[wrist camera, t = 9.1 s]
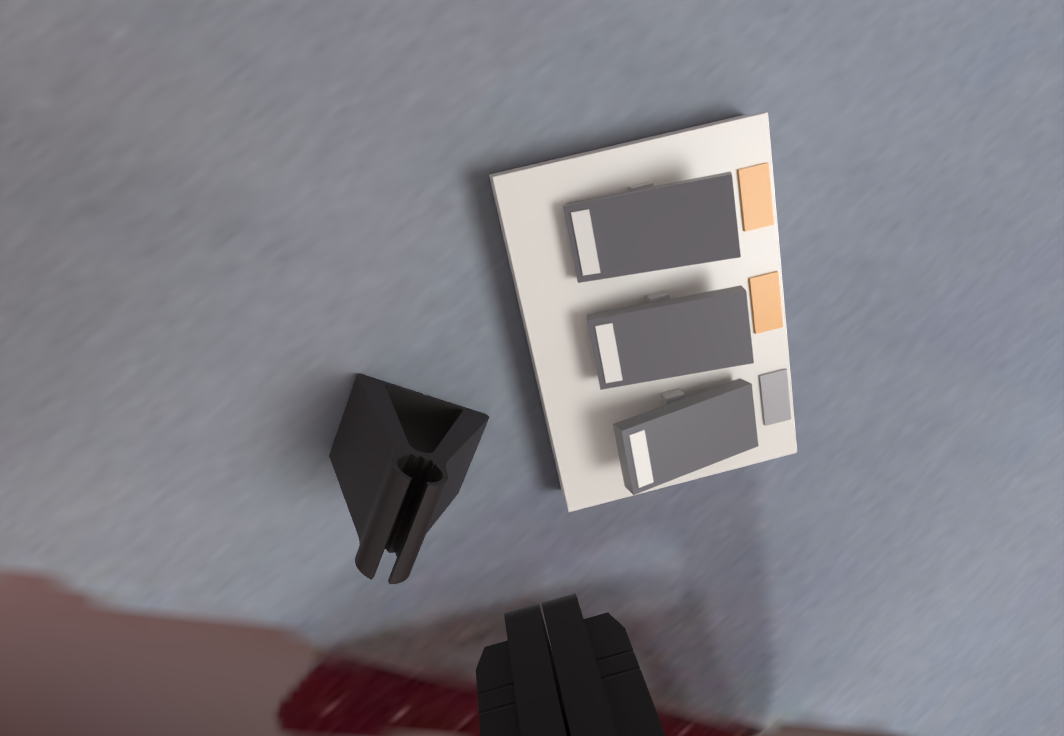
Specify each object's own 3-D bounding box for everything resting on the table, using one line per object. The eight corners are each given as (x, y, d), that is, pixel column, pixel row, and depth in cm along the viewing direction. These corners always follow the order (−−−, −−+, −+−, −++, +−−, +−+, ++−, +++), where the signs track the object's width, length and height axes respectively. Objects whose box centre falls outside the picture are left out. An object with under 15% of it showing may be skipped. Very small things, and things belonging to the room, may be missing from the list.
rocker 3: (612, 423, 40) (622, 431, 39) (739, 378, 42) (752, 384, 41) (624, 486, 41) (634, 495, 40) (746, 439, 44) (759, 446, 42)
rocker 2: (586, 314, 39) (587, 321, 38) (741, 285, 38) (746, 291, 37) (599, 382, 41) (600, 390, 40) (748, 355, 40) (754, 363, 38)
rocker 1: (566, 203, 38) (562, 206, 37) (730, 171, 35) (731, 174, 34) (580, 277, 39) (577, 283, 38) (739, 252, 37) (740, 257, 36)
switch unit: (488, 174, 40) (493, 178, 36) (745, 114, 40) (776, 111, 37) (561, 489, 47) (571, 520, 43) (776, 434, 48) (804, 459, 44)
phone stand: (329, 452, 44) (291, 559, 33) (358, 371, 43) (328, 455, 31) (457, 490, 46) (463, 603, 35) (489, 415, 45) (505, 507, 33)
